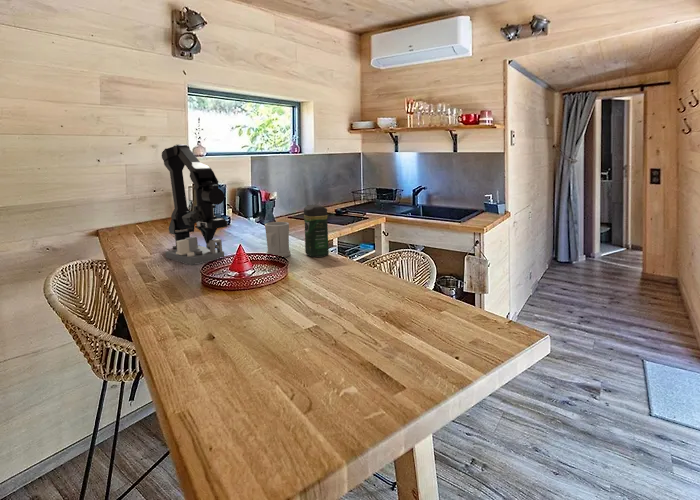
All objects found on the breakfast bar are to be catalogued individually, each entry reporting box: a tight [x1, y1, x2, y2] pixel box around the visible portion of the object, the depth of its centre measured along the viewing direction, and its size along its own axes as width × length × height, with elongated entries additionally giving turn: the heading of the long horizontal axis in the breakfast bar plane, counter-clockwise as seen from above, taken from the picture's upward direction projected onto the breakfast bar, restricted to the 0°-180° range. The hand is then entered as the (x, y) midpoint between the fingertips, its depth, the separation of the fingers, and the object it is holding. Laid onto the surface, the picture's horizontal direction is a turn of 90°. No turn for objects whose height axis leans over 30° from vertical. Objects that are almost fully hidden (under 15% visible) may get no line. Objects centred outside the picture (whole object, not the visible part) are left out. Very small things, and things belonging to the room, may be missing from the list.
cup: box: [264, 221, 291, 258], centre depth 171 cm, size 10×9×12 cm
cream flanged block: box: [175, 239, 191, 255], centre depth 167 cm, size 4×4×5 cm
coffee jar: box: [303, 204, 330, 258], centre depth 171 cm, size 10×8×19 cm
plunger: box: [205, 242, 220, 250], centre depth 170 cm, size 6×3×3 cm, turn 48°
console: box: [165, 238, 225, 266], centre depth 172 cm, size 18×14×7 cm
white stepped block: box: [185, 236, 200, 252], centre depth 172 cm, size 4×4×5 cm
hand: (208, 244), depth 173 cm, fingers closed
